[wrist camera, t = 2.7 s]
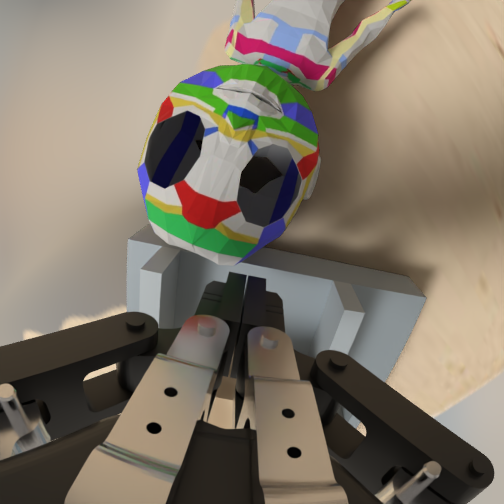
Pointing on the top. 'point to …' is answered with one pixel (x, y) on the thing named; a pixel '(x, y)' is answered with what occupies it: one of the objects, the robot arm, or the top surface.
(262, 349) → the robot arm
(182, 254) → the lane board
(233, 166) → the toy
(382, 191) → the top surface
